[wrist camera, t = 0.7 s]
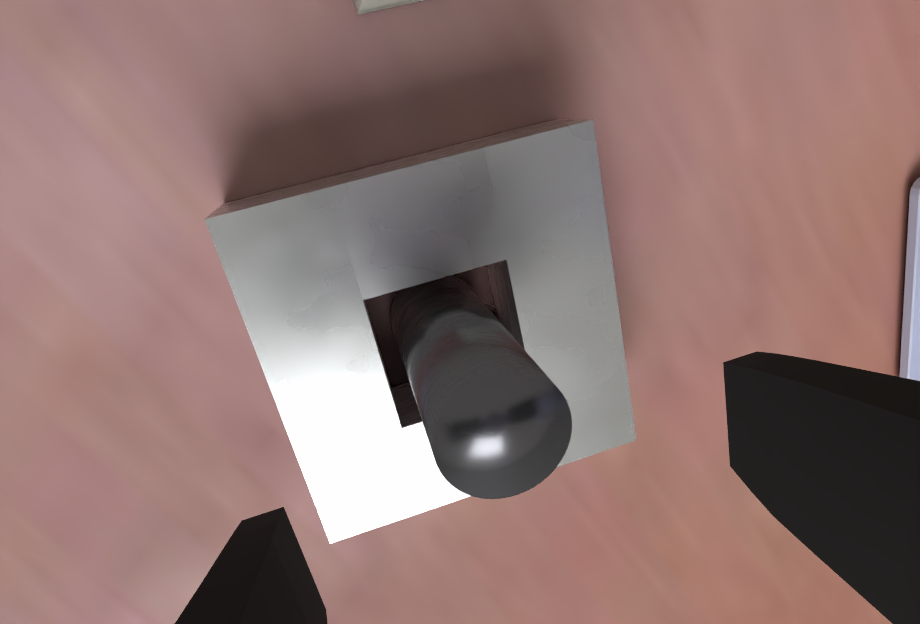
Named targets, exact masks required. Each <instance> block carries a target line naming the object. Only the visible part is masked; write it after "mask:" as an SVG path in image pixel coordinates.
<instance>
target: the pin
mask: <svg viewBox="0 0 920 624" xmlns="http://www.w3.org/2000/svg"><path fill="white" fill-rule="evenodd" d="M390 321H391V326H392V330H393V333H394V336H395V339H396V342H397V345H398V348H399V351H400V354H401V357H402V361H403V364H404V367H405V370H406V373H407V376H408V379H409V382H410V385H411V388H412V391H413V394H414V397H415V400H416V403H417V407H418V410H419V413H420V416H421V419H422V422H423V425H424V428H425V431H426V434H427V437H428V440H429V443H430V446H431V449H432V453H433V456H434V459H435V461H436V464H437V467H438V469H439V470H440V472H441V474H442V475H443V477H444V478H445V479H446V480H447V481H448V482H449V483H450V484H451V485H452V486H453V487H455V488H456V489H458V490H459V491H461V492H463V493H465V494H468V495H471V496H474V497H478V498H484V499H500V498H506V497H511V496H514V495H518V494H520V493H523V492H525V491H527V490H529V489H531V488H533V487H535V486H536V485H538V484H539V483H541V482H542V481H543V480H544V479H545V478H547V477H548V476H549V475H550V474H551V473H552V472H553V471H554V470H555V468H556V467H557V466H558V464H559V463H560V462H561V460H562V458H563V457H564V455H565V453H566V450H567V448H568V445H569V442H570V439H571V433H572V416H571V412H570V408H569V405H568V403H567V400H566V399H565V397H564V395H563V394H562V392H561V391H560V390H559V389H558V388H557V386H556V385H555V384H554V383H553V382H552V381H551V380H550V378H549V377H548V376H547V375H546V374H545V373H544V372H543V370H542V369H541V368H540V367H539V366H538V365H537V364H536V362H535V361H534V360H533V359H532V358H531V357H530V356H529V354H528V353H527V352H526V351H525V350H524V349H523V347H522V346H521V345H520V344H519V343H518V342H517V341H516V339H515V338H514V337H513V336H512V335H511V334H510V333H509V331H508V330H507V329H506V328H505V327H504V326H503V325H502V323H501V322H500V321H499V320H498V319H497V318H496V317H495V315H494V314H493V313H492V312H491V311H490V310H489V308H488V307H487V306H486V305H485V304H484V303H483V302H482V300H481V299H480V298H479V297H478V296H477V295H476V294H475V292H474V291H473V290H472V289H471V288H470V287H469V286H468V284H467V283H466V282H464V281H463V280H462V279H460V278H459V277H457V276H455V275H450V276H447V277H443V278H440V279H436V280H433V281H429V282H425V283H422V284H418V285H415V286H411V287H408V288H404V289H401V290H399V291H398V293H397V294H396V296H395V298H394V300H393V303H392V306H391V311H390Z"/></svg>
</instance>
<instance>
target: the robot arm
mask: <svg viewBox="0 0 920 624" xmlns="http://www.w3.org/2000/svg"><path fill="white" fill-rule="evenodd" d="M723 364H724V380H725V395H726V410H727V425H728V441H729V456H730V466H731V468H732V469H733V470H734V471H735V472H736V474H737V475H738V476H739V477H740V478H741V480H742V481H743V482H744V483H745V484H746V486H747V487H748V488H749V489H750V490H751V492H752V493H753V494H754V495H755V496H756V497H757V498H758V499H759V501H760V502H761V503H762V504H763V505H764V506H765V507H766V508H767V510H768V511H769V512H770V513H771V514H772V515H773V516H774V517H775V518H776V519H777V520H778V521H779V522H780V523H781V524H782V525H784V526H785V527H786V528H787V529H788V530H789V531H790V532H791V533H792V534H793V535H794V536H796V537H797V538H798V539H799V540H800V541H801V542H802V543H803V544H804V545H805V546H807V547H808V548H809V549H810V550H811V551H812V552H813V553H814V554H815V555H816V556H818V557H819V558H820V559H821V560H822V561H823V562H824V563H825V564H827V565H828V566H829V567H830V568H831V569H832V570H833V571H834V572H835V573H837V574H838V575H839V576H840V577H841V578H842V579H843V580H844V581H846V582H847V583H848V584H849V585H850V586H851V587H852V588H853V589H855V590H856V591H857V592H858V593H859V594H860V595H861V596H862V597H863V598H865V599H866V600H867V601H868V602H869V603H870V604H871V605H872V606H874V607H875V608H876V609H877V610H878V611H879V612H880V613H881V614H883V615H884V616H885V617H886V618H887V619H888V620H889V621H890V622H891V623H893V624H920V177H919V178H918V179H917V180H916V181H915V182H914V183H913V185H912V187H911V190H910V198H909V216H908V234H907V251H906V269H905V287H904V304H903V322H902V340H901V358H900V375H899V377H897V376H892V375H887V374H881V373H876V372H871V371H866V370H861V369H856V368H851V367H846V366H841V365H836V364H831V363H826V362H821V361H816V360H810V359H805V358H799V357H794V356H787V355H781V354H774V353H765V352H754V353H751V354H748V355H745V356H742V357H739V358H736V359H733V360H730V361H727V362H724V363H723ZM175 624H327V615H326V609H325V606H324V604H323V601H322V599H321V596H320V594H319V592H318V589H317V587H316V584H315V582H314V579H313V577H312V575H311V572H310V570H309V567H308V565H307V563H306V560H305V558H304V555H303V553H302V550H301V548H300V546H299V543H298V541H297V538H296V536H295V533H294V531H293V529H292V526H291V524H290V521H289V519H288V516H287V514H286V512H285V509H284V507H282V508H279V509H276V510H273V511H270V512H267V513H264V514H261V515H258V516H255V517H252V518H249V519H246V520H242V521H241V523H240V524H239V526H238V527H237V529H236V530H235V532H234V533H233V535H232V536H231V538H230V539H229V541H228V542H227V544H226V545H225V547H224V549H223V550H222V552H221V553H220V555H219V556H218V558H217V560H216V561H215V563H214V564H213V566H212V567H211V569H210V571H209V572H208V574H207V575H206V577H205V578H204V580H203V582H202V583H201V585H200V586H199V588H198V589H197V591H196V592H195V594H194V595H193V597H192V598H191V600H190V601H189V603H188V605H187V606H186V608H185V609H184V611H183V612H182V614H181V615H180V617H179V618H178V620H177V621H176V623H175Z"/></svg>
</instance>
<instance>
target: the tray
mask: <svg viewBox="0 0 920 624" xmlns="http://www.w3.org/2000/svg"><path fill="white" fill-rule="evenodd" d="M420 1H424V0H354V3H355V7H356V10H357V14H358V15H360V14H365V13H369V12H374V11H379V10H383V9H388V8H392V7H397V6H401V5H406V4H411V3H415V2H420Z"/></svg>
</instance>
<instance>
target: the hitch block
mask: <svg viewBox="0 0 920 624" xmlns="http://www.w3.org/2000/svg"><path fill="white" fill-rule="evenodd" d="M205 222H206V224H207V227H208V230H209V232H210V235H211V237H212V240H213V242H214V245H215V248H216V250H217V253H218V255H219V258H220V260H221V263H222V266H223V268H224V271H225V273H226V276H227V279H228V281H229V284H230V286H231V289H232V291H233V294H234V297H235V299H236V302H237V304H238V307H239V310H240V312H241V315H242V317H243V320H244V322H245V325H246V328H247V330H248V333H249V335H250V338H251V340H252V343H253V346H254V348H255V351H256V353H257V356H258V359H259V361H260V364H261V366H262V369H263V371H264V374H265V377H266V379H267V382H268V384H269V387H270V390H271V392H272V395H273V397H274V400H275V402H276V405H277V408H278V410H279V413H280V415H281V418H282V420H283V423H284V426H285V428H286V431H287V433H288V436H289V439H290V441H291V444H292V446H293V449H294V451H295V454H296V457H297V459H298V462H299V464H300V467H301V470H302V472H303V475H304V477H305V480H306V482H307V485H308V488H309V490H310V493H311V495H312V498H313V500H314V503H315V506H316V508H317V511H318V513H319V516H320V519H321V521H322V524H323V526H324V529H325V531H326V534H327V537H328V539H329V542H330V543H333V542H336V541H339V540H342V539H345V538H348V537H351V536H354V535H357V534H360V533H363V532H366V531H369V530H372V529H375V528H378V527H381V526H384V525H387V524H389V523H392V522H395V521H398V520H401V519H404V518H407V517H410V516H413V515H416V514H419V513H422V512H425V511H428V510H431V509H434V508H437V507H440V506H443V505H446V504H449V503H452V502H455V501H458V500H461V499H463V498H466V497H469V496H471V495H468V494H465V493H463V492H461V491H459V490H458V489H456V488H455V487H453V486H452V485H451V484H450V483H449V482H448V481H447V480H446V479H445V478H444V477H443V475H442V474H441V472H440V470H439V469H438V467H437V464H436V461H435V459H434V456H433V453H432V449H431V446H430V443H429V440H428V437H427V434H426V431H425V428H424V425H423V422H422V419H421V416H420V413H419V410H418V407H417V403H416V400H415V397H414V394H413V391H412V388H411V385H410V382H406V383H402V384H399V385H396V386H393V387H391V384H390V381H389V378H388V374H387V371H386V368H385V364H384V361H383V358H382V354H381V351H380V348H379V344H378V341H377V338H376V335H375V331H374V328H373V325H372V321H371V318H370V315H369V311H368V308H367V305H366V301H365V300H366V299H369V298H373V297H376V296H380V295H383V294H387V293H390V292H394V291H397V290H401V289H404V288H408V287H411V286H415V285H418V284H422V283H425V282H429V281H433V280H436V279H440V278H443V277H447V276H450V275H454V274H457V273H461V272H464V271H468V270H471V269H475V268H478V267H482V266H485V265H486V266H487V271H488V275H489V280H490V284H491V289H492V294H493V298H494V303H495V308H496V312H497V317H498V320H499V321H500V322H501V323H502V325H503V326H504V327H505V328H506V329H507V330H508V331H509V333H510V334H511V335H512V336H513V337H514V338H515V339H516V341H517V342H518V343H519V344H520V345H521V346H522V347H523V349H524V350H525V351H526V352H527V353H528V354H529V356H530V357H531V358H532V359H533V360H534V361H535V362H536V364H537V365H538V366H539V367H540V368H541V369H542V370H543V372H544V373H545V374H546V375H547V376H548V377H549V378H550V380H551V381H552V382H553V383H554V384H555V385H556V386H557V388H558V389H559V390H560V391H561V392H562V394H563V395H564V397H565V399H566V400H567V403H568V405H569V408H570V412H571V416H572V433H571V439H570V442H569V445H568V448H567V450H566V453H565V455H564V457H563V458H562V460H561V462H560V463H559V464H558V466H561V465H564V464H567V463H570V462H573V461H576V460H579V459H582V458H585V457H588V456H591V455H594V454H597V453H600V452H603V451H606V450H608V449H611V448H614V447H617V446H620V445H623V444H626V443H629V442H632V441H635V440H636V435H635V427H634V420H633V412H632V405H631V398H630V390H629V383H628V375H627V368H626V360H625V353H624V345H623V338H622V330H621V323H620V315H619V308H618V300H617V293H616V285H615V278H614V270H613V263H612V256H611V248H610V241H609V233H608V226H607V218H606V211H605V203H604V196H603V188H602V181H601V173H600V166H599V158H598V151H597V143H596V136H595V128H594V121H593V120H551V121H547V122H543V123H539V124H535V125H531V126H527V127H523V128H519V129H515V130H511V131H507V132H503V133H499V134H495V135H492V136H488V137H484V138H480V139H476V140H472V141H468V142H464V143H460V144H456V145H452V146H448V147H444V148H440V149H436V150H432V151H428V152H425V153H421V154H417V155H413V156H409V157H405V158H401V159H397V160H393V161H389V162H385V163H381V164H377V165H373V166H369V167H365V168H361V169H358V170H354V171H350V172H346V173H342V174H338V175H334V176H330V177H326V178H322V179H318V180H314V181H310V182H306V183H302V184H298V185H294V186H291V187H287V188H283V189H279V190H275V191H271V192H267V193H263V194H259V195H255V196H251V197H247V198H243V199H239V200H235V201H231V202H227V203H224V204H222V205H221V206H220V207H219V208H217V209H216V210H215V211H214V212H213V213H211V214H210V215H209V216H208V217H207V218H205ZM558 466H557V467H558Z"/></svg>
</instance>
